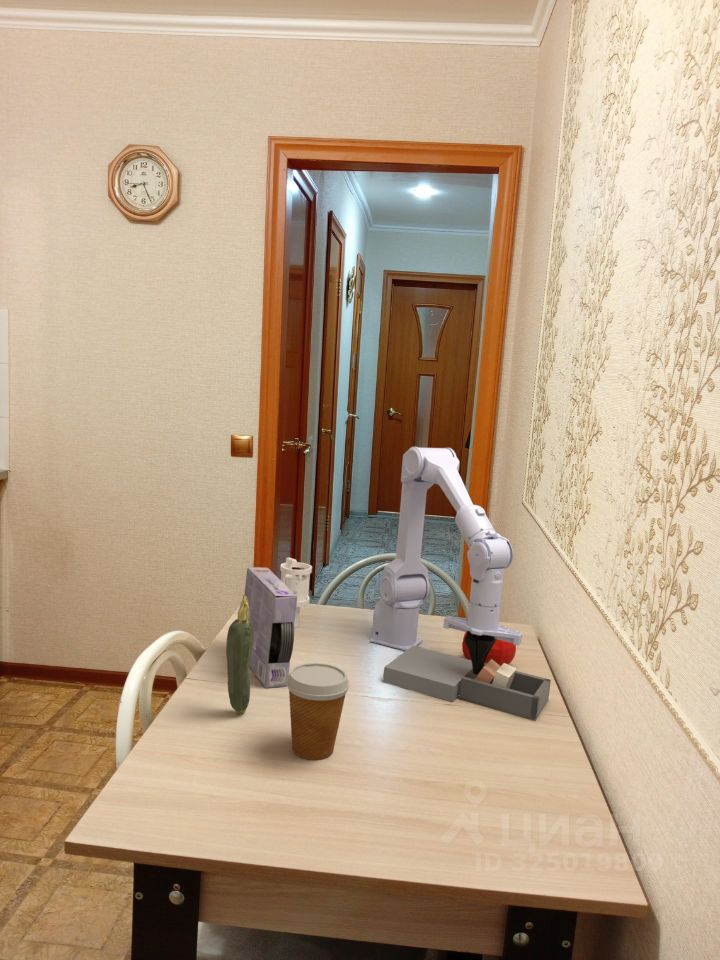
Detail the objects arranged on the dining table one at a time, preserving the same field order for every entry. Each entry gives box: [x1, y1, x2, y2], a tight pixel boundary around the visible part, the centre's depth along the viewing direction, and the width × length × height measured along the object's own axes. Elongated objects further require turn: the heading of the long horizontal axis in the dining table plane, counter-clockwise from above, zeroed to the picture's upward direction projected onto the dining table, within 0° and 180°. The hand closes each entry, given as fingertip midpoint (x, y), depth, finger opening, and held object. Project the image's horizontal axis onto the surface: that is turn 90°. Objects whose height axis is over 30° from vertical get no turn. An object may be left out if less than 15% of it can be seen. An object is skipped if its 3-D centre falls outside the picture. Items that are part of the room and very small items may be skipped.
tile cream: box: [492, 663, 517, 689], centre depth 131 cm, size 5×5×2 cm
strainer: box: [279, 557, 313, 629], centre depth 160 cm, size 7×7×15 cm
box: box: [458, 663, 552, 722], centre depth 131 cm, size 14×10×4 cm
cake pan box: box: [243, 566, 297, 689], centre depth 135 cm, size 19×5×18 cm, turn 25°
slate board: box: [382, 645, 476, 703], centre depth 138 cm, size 14×14×3 cm
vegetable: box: [225, 594, 254, 714], centre depth 116 cm, size 4×4×20 cm
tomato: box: [461, 625, 517, 666], centre depth 147 cm, size 11×11×9 cm
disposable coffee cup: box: [286, 662, 351, 761], centre depth 107 cm, size 10×10×12 cm
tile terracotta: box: [475, 659, 501, 684], centre depth 133 cm, size 5×5×2 cm
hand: (477, 672), depth 133 cm, fingers closed
